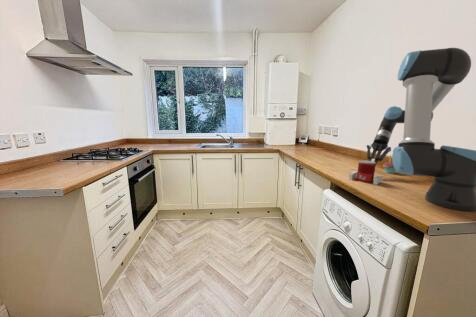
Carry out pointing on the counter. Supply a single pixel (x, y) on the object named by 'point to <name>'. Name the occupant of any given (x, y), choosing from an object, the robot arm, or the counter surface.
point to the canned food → (366, 171)
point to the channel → (376, 179)
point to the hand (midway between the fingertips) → (370, 168)
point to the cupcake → (389, 167)
